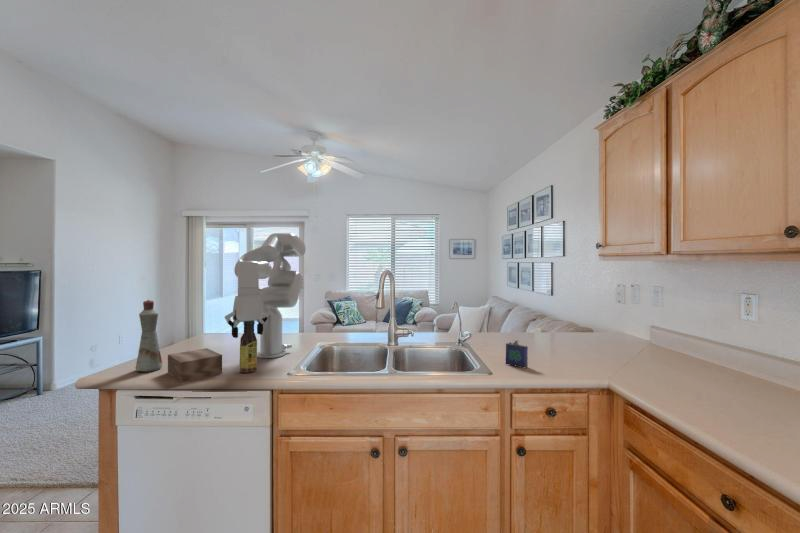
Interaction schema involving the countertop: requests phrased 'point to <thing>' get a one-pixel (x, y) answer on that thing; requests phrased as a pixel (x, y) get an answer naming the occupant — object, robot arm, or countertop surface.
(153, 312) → the bottle
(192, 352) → the walnut block
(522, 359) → the flask
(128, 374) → the countertop surface
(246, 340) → the sauce bottle
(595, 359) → the countertop surface
